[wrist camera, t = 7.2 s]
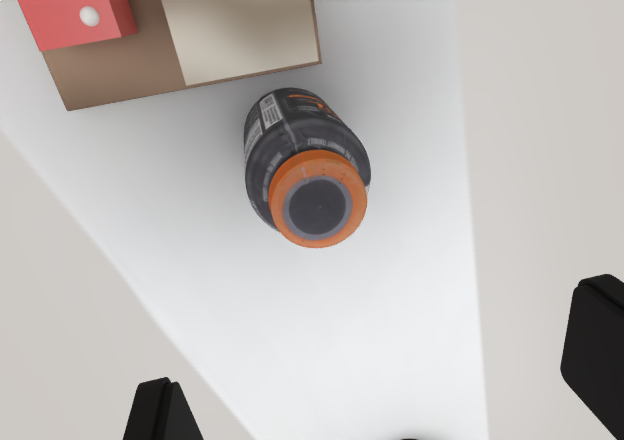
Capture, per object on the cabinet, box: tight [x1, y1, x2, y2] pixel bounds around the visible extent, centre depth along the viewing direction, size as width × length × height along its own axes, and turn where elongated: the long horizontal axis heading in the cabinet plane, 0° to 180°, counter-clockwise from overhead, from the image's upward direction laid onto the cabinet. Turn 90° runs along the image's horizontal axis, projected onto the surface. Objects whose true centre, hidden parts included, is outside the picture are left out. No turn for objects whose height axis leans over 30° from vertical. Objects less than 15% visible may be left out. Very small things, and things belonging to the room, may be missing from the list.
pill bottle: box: [244, 88, 371, 248], centre depth 22 cm, size 6×6×11 cm
